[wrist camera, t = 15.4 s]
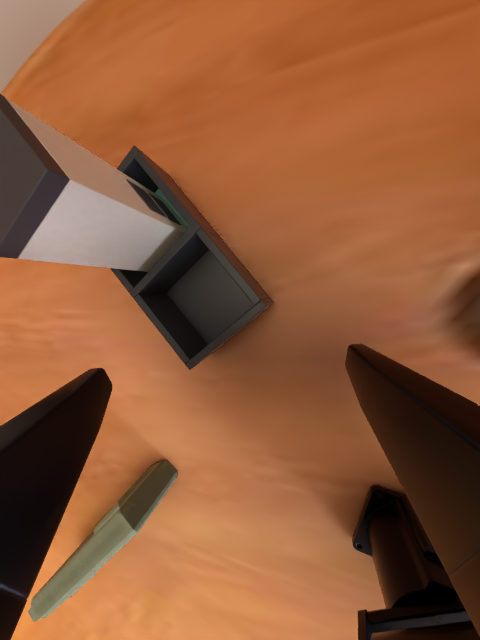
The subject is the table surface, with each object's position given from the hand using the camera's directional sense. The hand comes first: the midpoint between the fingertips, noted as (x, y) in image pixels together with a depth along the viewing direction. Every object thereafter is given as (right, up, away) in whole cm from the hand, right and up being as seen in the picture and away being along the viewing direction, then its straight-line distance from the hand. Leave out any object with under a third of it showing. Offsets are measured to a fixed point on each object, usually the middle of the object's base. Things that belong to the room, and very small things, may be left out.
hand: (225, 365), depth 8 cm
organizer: (-4, +7, +13) cm, 15 cm away
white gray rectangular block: (-6, +9, +12) cm, 17 cm away
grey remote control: (-15, -23, +20) cm, 34 cm away
